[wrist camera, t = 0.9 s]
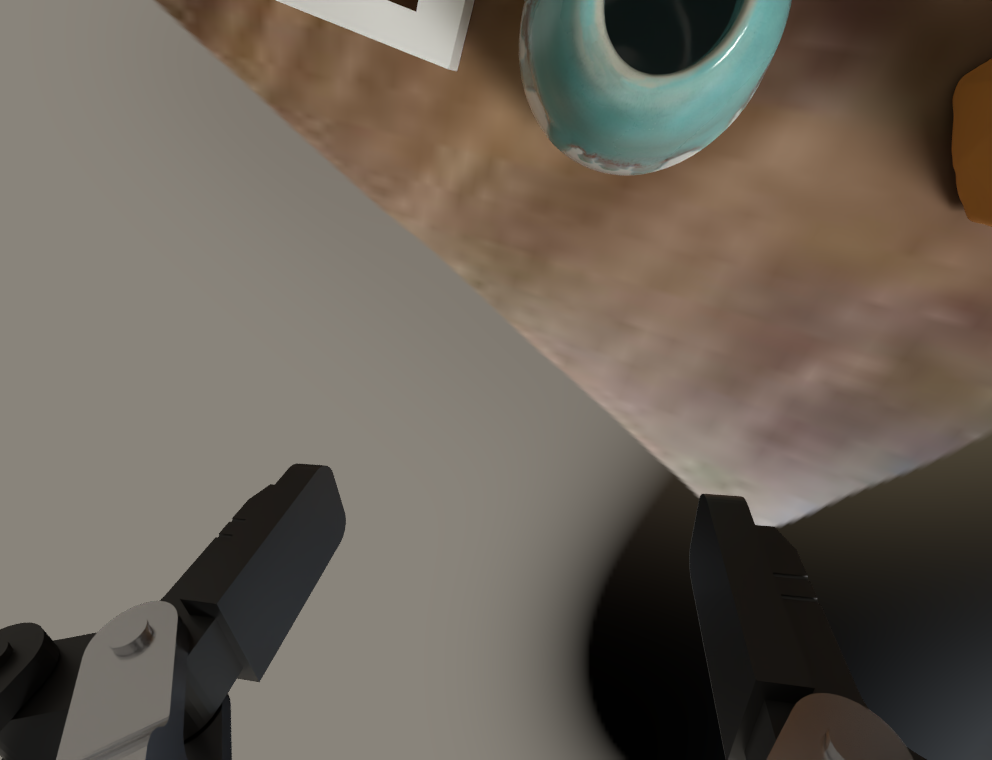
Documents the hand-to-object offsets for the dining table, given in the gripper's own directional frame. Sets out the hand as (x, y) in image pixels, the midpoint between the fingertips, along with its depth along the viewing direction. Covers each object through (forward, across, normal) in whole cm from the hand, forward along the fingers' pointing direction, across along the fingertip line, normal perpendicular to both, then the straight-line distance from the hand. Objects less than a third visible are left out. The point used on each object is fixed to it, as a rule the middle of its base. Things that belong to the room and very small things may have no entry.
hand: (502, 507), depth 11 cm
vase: (+27, -4, -10) cm, 29 cm away
